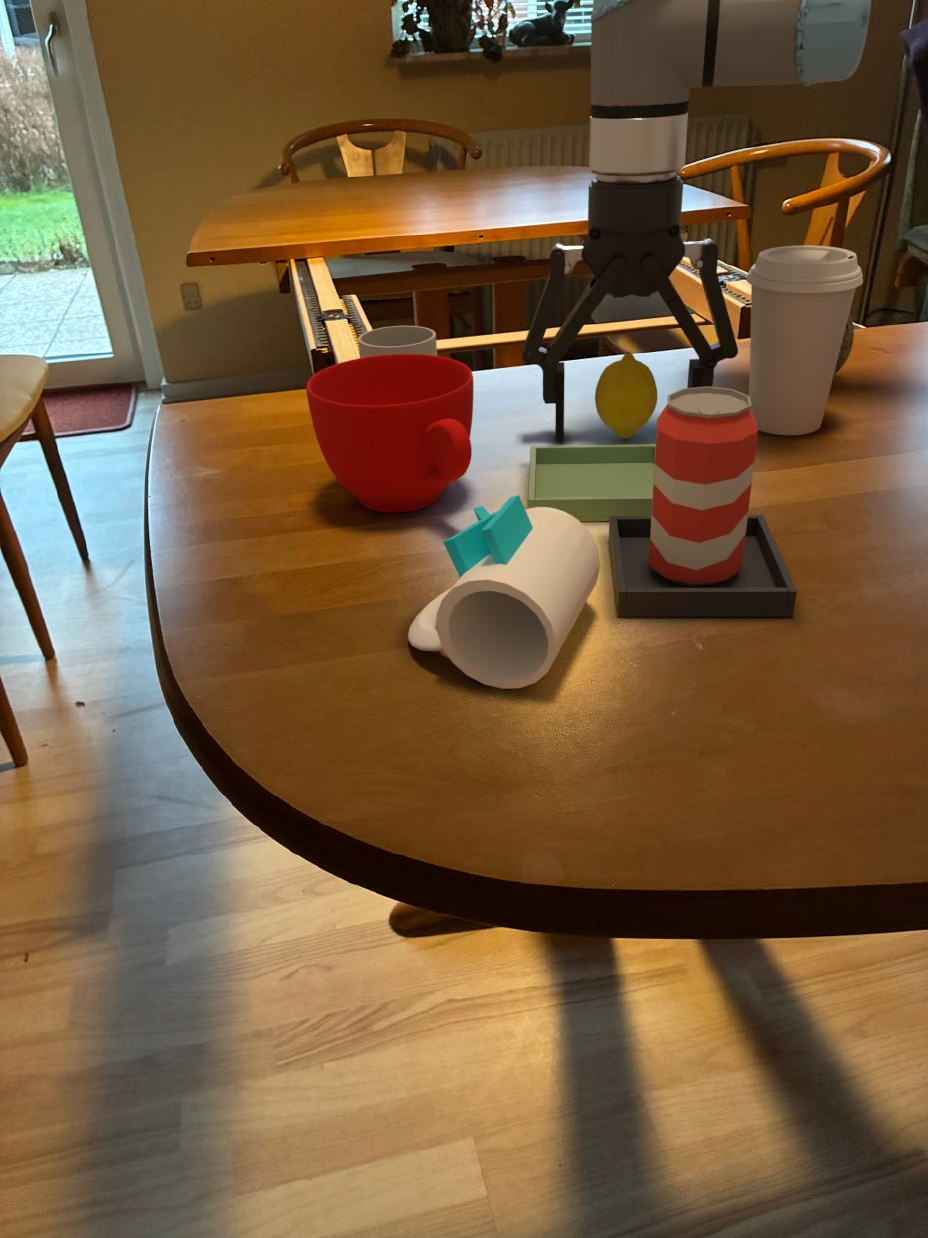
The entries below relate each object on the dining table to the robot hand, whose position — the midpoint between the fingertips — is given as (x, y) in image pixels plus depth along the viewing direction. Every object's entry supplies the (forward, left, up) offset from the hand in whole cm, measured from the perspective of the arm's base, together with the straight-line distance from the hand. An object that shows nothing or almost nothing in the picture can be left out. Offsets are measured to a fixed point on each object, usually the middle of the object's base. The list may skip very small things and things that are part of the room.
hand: (624, 435), depth 87 cm
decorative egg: (-20, -15, 0) cm, 25 cm away
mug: (+10, +33, 0) cm, 34 cm away
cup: (+21, -2, 0) cm, 21 cm away
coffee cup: (-15, -3, 0) cm, 15 cm away
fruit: (0, 0, 0) cm, 0 cm away
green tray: (+3, +12, 0) cm, 12 cm away
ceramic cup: (+18, +14, 0) cm, 23 cm away
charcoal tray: (-3, +26, 0) cm, 26 cm away
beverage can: (-3, +26, 0) cm, 26 cm away
